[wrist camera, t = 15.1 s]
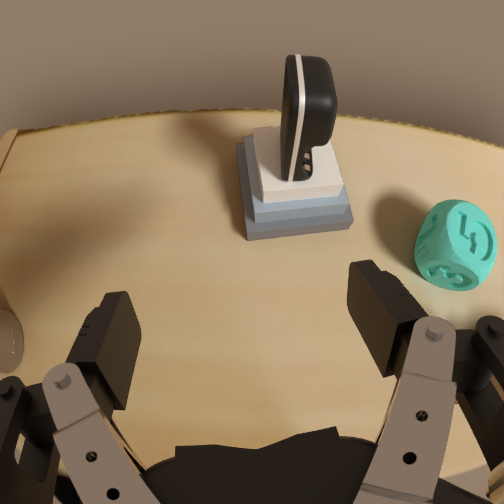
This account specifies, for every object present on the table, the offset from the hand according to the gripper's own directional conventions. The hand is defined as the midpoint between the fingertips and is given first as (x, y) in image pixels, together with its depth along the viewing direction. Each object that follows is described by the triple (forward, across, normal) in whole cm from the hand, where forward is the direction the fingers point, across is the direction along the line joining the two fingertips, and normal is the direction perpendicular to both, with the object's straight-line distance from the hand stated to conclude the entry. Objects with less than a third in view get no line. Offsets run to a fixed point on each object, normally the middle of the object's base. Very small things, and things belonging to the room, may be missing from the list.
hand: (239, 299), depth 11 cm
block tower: (+28, -7, +5) cm, 29 cm away
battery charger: (+23, -7, 0) cm, 24 cm away
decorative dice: (+20, -25, +13) cm, 35 cm away
